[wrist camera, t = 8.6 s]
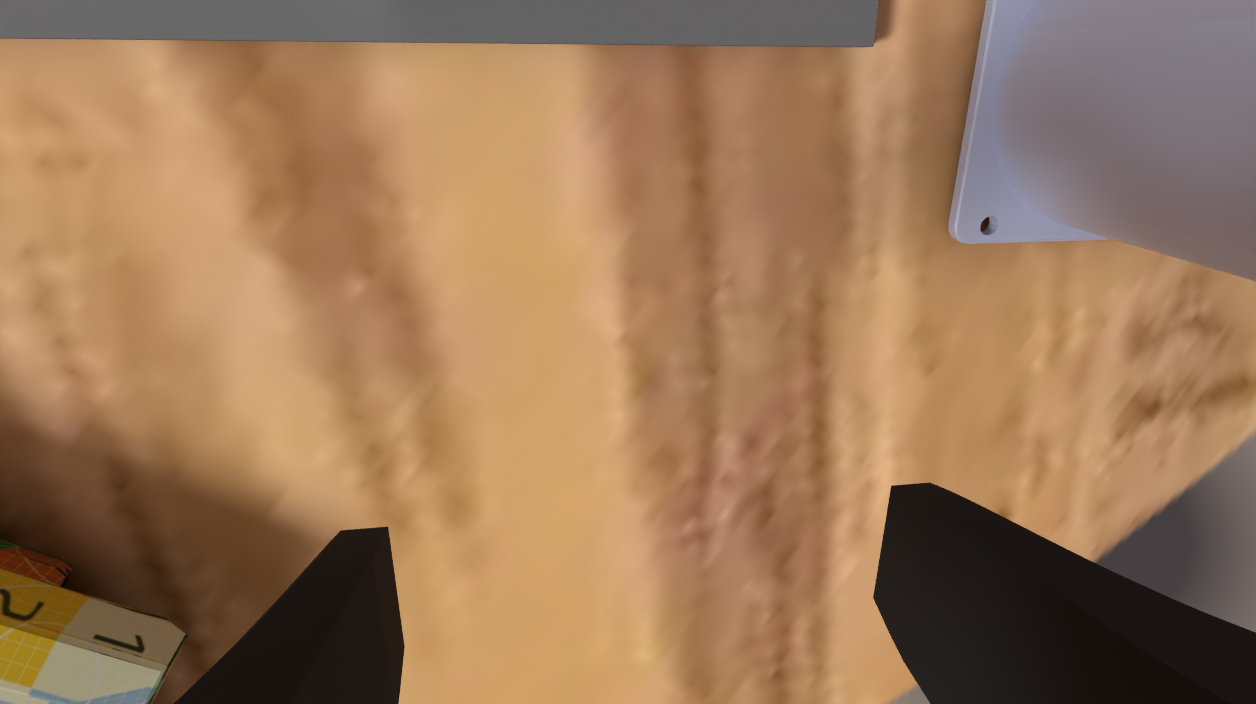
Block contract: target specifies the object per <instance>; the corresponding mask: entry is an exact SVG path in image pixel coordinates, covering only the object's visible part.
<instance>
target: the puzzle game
mask: <svg viewBox="0 0 1256 704" xmlns="http://www.w3.org/2000/svg"><path fill="white" fill-rule="evenodd" d="M71 571H72V569H71V568H70V567H69V566H68V565H66V564H65V563H64V562H63V561H62V560H61V559H58V558H55V557H52V556H49V555H46V554H43V553H39V552H36V551H33V550H30V549H27V548H24V547H21V546H18V545H15V544H12V543H9V542H6V541H3V540H0V704H152V703H153V702H154V700H155V698H156V696H157V694H158V692H159V690H160V688H161V686H162V684H163V682H164V680H165V678H166V677H167V675H168V673H169V671H170V669H171V667H172V665H173V663H174V661H175V659H176V657H177V655H178V653H179V652H180V650H181V648H182V646H183V644H184V642H185V640H186V638H187V636H188V635H186V634H185V633H184V632H183V631H181V630H180V629H179V628H178V627H176V626H175V625H174V624H173V623H171V622H170V621H169V620H168V619H166V618H164V617H160V616H157V615H154V614H150V613H147V612H144V611H140V610H137V609H133V608H130V607H127V606H123V605H120V604H117V603H113V602H110V601H106V600H103V599H100V598H96V597H93V596H90V595H86V594H83V593H79V592H76V591H73V590H69V589H66V588H64V586H65V584H66V582H67V580H68V577H69V575H70V573H71Z"/></svg>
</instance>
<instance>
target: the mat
mask: <svg viewBox="0 0 1256 704" xmlns="http://www.w3.org/2000/svg"><path fill="white" fill-rule="evenodd" d="M878 4H879V0H0V38H19V39H117V40H214V41H312V42H409V43H507V44H605V45H702V46H800V47H873V46H874V37H875V29H876V21H877V12H878Z"/></svg>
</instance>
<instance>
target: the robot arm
mask: <svg viewBox="0 0 1256 704" xmlns="http://www.w3.org/2000/svg"><path fill="white" fill-rule="evenodd" d="M986 217H989V222H990V223H989V225H988V227H987V228H986V229H985V230H984V231H982V232H981V231H980V225H981V223H982V221H983V220H984V219H985V218H986ZM948 229H949V233H950V235H951V237H952V238H954V239H955V240H957V241H959V242H962V243H966V244H979V243H1013V242H1047V241H1080V240H1117V241H1121V242H1124V243H1127V244H1131V245H1134V246H1138V247H1141V248H1144V249H1148V250H1151V251H1154V252H1158V253H1161V254H1165V255H1168V256H1171V257H1175V258H1178V259H1182V260H1185V261H1188V262H1192V263H1195V264H1199V265H1202V266H1205V267H1209V268H1212V269H1216V270H1219V271H1222V272H1226V273H1229V274H1233V275H1236V276H1239V277H1243V278H1246V279H1250V280H1253V281H1256V0H986V6H985V12H984V18H983V24H982V30H981V36H980V41H979V47H978V53H977V59H976V65H975V71H974V77H973V83H972V88H971V94H970V100H969V106H968V112H967V118H966V124H965V130H964V135H963V141H962V147H961V153H960V159H959V165H958V171H957V177H956V183H955V188H954V194H953V200H952V206H951V212H950V218H949V224H948ZM873 598H874V600H875V603H876V605H877V607H878V609H879V611H880V613H881V616H882V618H883V620H884V622H885V624H886V627H887V629H888V631H889V633H890V635H891V637H892V639H893V641H894V643H895V645H896V647H897V649H898V651H899V653H900V655H901V657H902V659H903V661H904V663H905V664H906V666H907V667H908V669H909V671H910V672H911V674H912V675H913V677H914V679H915V680H916V682H917V683H918V685H919V686H920V688H921V689H922V691H923V692H924V694H925V696H926V697H927V699H928V700H929V702H930V703H931V704H1256V633H1255V632H1252V631H1250V630H1247V629H1245V628H1242V627H1240V626H1237V625H1235V624H1232V623H1229V622H1227V621H1224V620H1222V619H1219V618H1217V617H1214V616H1212V615H1209V614H1207V613H1204V612H1202V611H1200V610H1197V609H1195V608H1192V607H1190V606H1188V605H1185V604H1183V603H1181V602H1178V601H1176V600H1174V599H1171V598H1169V597H1167V596H1165V595H1163V594H1160V593H1158V592H1156V591H1153V590H1152V589H1149V588H1147V587H1145V586H1143V585H1140V584H1138V583H1136V582H1134V581H1132V580H1130V579H1127V578H1125V577H1123V576H1121V575H1119V574H1116V573H1114V572H1112V571H1110V570H1108V569H1106V568H1104V567H1102V566H1100V565H1098V564H1096V563H1094V562H1092V561H1089V560H1087V559H1085V558H1083V557H1081V556H1079V555H1077V554H1075V553H1073V552H1071V551H1069V550H1067V549H1065V548H1063V547H1061V546H1059V545H1057V544H1055V543H1053V542H1051V541H1049V540H1047V539H1045V538H1043V537H1041V536H1039V535H1037V534H1035V533H1034V532H1032V531H1030V530H1028V529H1026V528H1024V527H1022V526H1020V525H1018V524H1016V523H1014V522H1012V521H1010V520H1008V519H1006V518H1004V517H1002V516H1000V515H998V514H996V513H994V512H992V511H990V510H988V509H986V508H984V507H982V506H980V505H978V504H976V503H974V502H972V501H970V500H968V499H966V498H964V497H962V496H960V495H958V494H955V493H953V492H951V491H949V490H946V489H944V488H942V487H939V486H937V485H934V484H932V483H920V484H908V485H896V486H891V491H890V497H889V504H888V510H887V516H886V522H885V528H884V535H883V541H882V547H881V553H880V559H879V566H878V572H877V578H876V584H875V590H874V597H873ZM403 656H404V640H403V633H402V625H401V618H400V611H399V603H398V596H397V589H396V582H395V574H394V567H393V560H392V552H391V545H390V538H389V531H388V527H379V528H367V529H354V530H342V531H340V532H339V533H338V534H337V535H336V536H335V537H334V538H333V539H332V540H331V541H330V542H329V543H328V545H327V546H326V547H325V548H324V549H323V550H322V551H321V552H320V553H319V554H318V555H317V557H316V558H315V559H314V560H313V561H312V562H311V563H310V564H309V565H308V567H307V568H306V569H305V570H304V571H303V572H302V573H301V574H300V576H299V577H298V578H297V579H296V580H295V581H294V582H293V583H292V584H291V585H290V587H289V588H288V589H287V590H286V591H285V592H284V593H283V594H282V595H281V597H280V598H279V599H278V600H277V601H276V602H275V603H274V604H273V605H272V606H271V607H270V608H269V609H268V610H267V611H266V613H265V614H264V615H263V616H262V617H261V618H260V619H259V620H258V621H257V622H256V623H255V624H254V625H253V626H252V627H251V628H250V629H249V630H248V632H247V633H246V634H245V635H244V636H243V637H242V638H241V639H240V640H239V641H238V642H237V643H236V644H235V645H234V646H233V647H232V648H231V649H230V650H229V651H228V652H227V653H226V654H225V655H224V656H223V657H222V658H221V659H220V660H219V661H218V662H217V663H216V664H215V665H214V666H213V667H212V668H211V669H210V670H209V671H208V672H207V673H206V674H204V675H203V676H202V677H201V678H200V679H199V680H198V681H197V682H196V683H195V684H194V685H193V686H192V687H191V688H190V689H189V690H188V691H187V692H186V693H185V694H184V695H183V696H182V697H181V698H180V699H179V700H178V701H176V702H175V703H174V704H398V703H399V694H400V685H401V675H402V666H403Z"/></svg>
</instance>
